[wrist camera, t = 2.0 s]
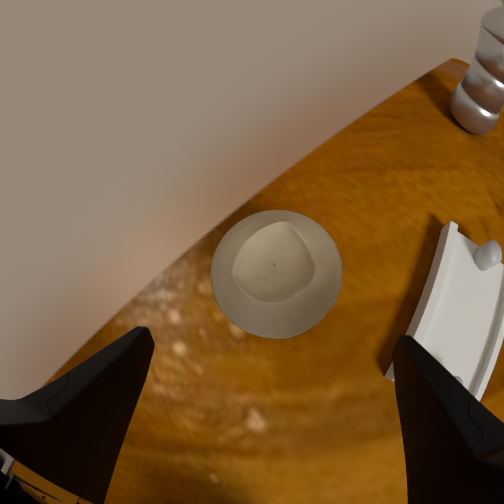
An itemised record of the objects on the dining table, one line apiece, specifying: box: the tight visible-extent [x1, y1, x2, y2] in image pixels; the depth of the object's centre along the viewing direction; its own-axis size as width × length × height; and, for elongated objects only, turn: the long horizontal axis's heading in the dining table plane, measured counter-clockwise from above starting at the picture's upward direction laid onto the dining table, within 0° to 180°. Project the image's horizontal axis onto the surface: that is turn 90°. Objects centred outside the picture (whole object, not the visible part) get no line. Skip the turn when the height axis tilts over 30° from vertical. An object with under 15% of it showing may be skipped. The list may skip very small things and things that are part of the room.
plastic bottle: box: [450, 0, 504, 135], centre depth 12 cm, size 6×7×20 cm
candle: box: [210, 210, 342, 338], centre depth 14 cm, size 6×6×10 cm
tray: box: [385, 221, 504, 402], centre depth 15 cm, size 13×9×3 cm
